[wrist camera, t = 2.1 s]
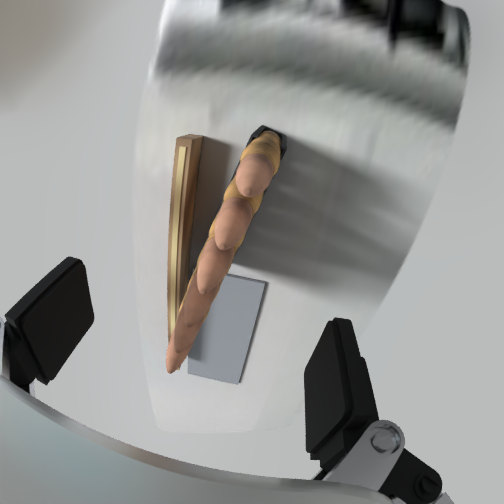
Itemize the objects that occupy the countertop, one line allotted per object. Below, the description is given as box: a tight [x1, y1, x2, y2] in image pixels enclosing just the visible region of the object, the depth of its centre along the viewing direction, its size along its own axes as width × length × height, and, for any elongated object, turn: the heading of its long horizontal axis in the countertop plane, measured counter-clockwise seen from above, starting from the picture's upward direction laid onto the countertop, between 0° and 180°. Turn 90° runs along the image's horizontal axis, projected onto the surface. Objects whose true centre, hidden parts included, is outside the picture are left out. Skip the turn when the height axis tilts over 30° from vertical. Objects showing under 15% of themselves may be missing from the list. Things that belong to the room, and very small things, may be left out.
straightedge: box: [167, 134, 203, 370], centre depth 22 cm, size 22×1×3 cm, turn 170°
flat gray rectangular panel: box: [188, 267, 265, 385], centre depth 26 cm, size 15×6×1 cm, turn 170°
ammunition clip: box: [166, 125, 286, 374], centre depth 14 cm, size 11×2×12 cm, turn 156°
